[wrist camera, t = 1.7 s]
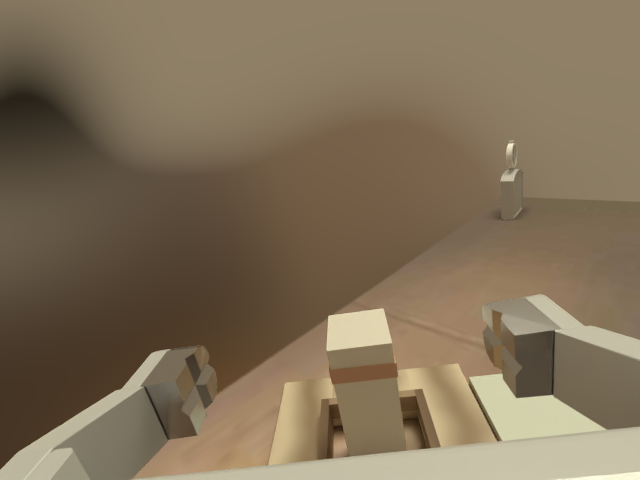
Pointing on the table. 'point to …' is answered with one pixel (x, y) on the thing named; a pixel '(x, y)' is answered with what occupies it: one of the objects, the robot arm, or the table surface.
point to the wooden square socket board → (416, 402)
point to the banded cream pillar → (365, 382)
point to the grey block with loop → (511, 185)
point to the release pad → (526, 412)
